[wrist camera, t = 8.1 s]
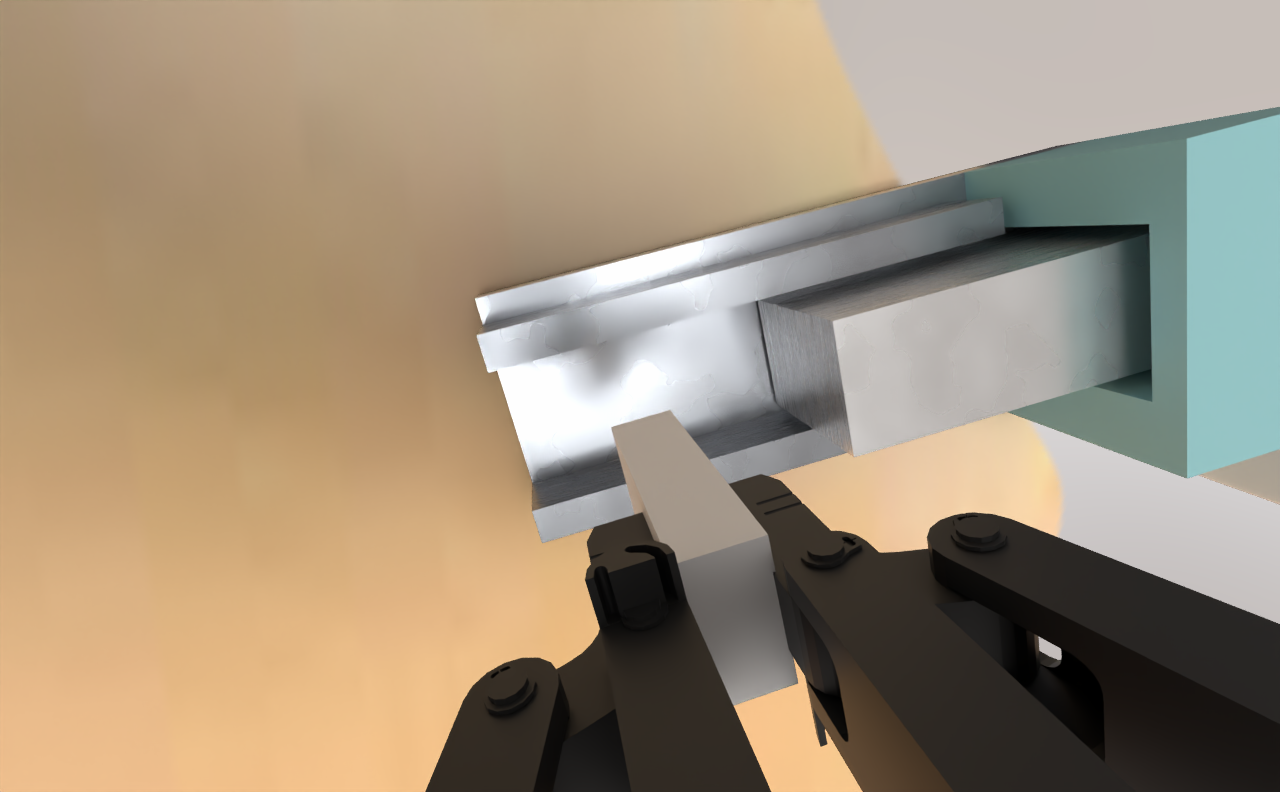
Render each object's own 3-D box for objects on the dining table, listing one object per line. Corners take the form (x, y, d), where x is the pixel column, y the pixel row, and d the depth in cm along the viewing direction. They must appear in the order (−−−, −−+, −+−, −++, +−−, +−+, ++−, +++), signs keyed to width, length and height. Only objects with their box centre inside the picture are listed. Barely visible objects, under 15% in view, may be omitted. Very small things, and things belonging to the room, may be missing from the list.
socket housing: (964, 172, 23) (1186, 138, 15) (1087, 140, 23) (1366, 91, 16) (985, 404, 25) (1187, 478, 18) (1097, 371, 26) (1343, 429, 18)
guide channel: (478, 295, 23) (467, 306, 19) (1056, 146, 25) (1150, 129, 21) (547, 516, 25) (549, 566, 21) (1068, 364, 27) (1154, 384, 23)
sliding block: (755, 296, 23) (833, 318, 17) (1057, 215, 24) (1230, 208, 18) (776, 406, 24) (856, 461, 18) (1063, 323, 25) (1227, 350, 19)
